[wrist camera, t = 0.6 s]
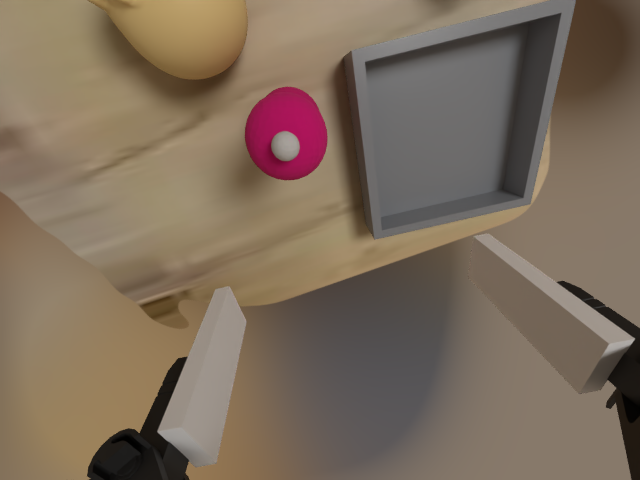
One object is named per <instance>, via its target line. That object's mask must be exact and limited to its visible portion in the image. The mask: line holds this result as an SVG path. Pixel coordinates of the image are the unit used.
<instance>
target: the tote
mask: <svg viewBox="0 0 640 480" xmlns="http://www.w3.org/2000/svg"><path fill="white" fill-rule="evenodd" d="M575 1H576V0H550V1H546V2H542V3H538V4H534V5H530V6H526V7H522V8H518V9H514V10H510V11H506V12H502V13H498V14H494V15H490V16H486V17H482V18H478V19H474V20H470V21H467V22H463V23H459V24H455V25H451V26H447V27H443V28H439V29H435V30H431V31H427V32H423V33H419V34H415V35H411V36H407V37H403V38H399V39H395V40H391V41H387V42H383V43H379V44H375V45H371V46H367V47H363V48H359V49H355V50H352V51H350V52H349V53H348V54H347V55H345V56H344V57H343V58H344V65H345V73H346V80H347V87H348V95H349V102H350V110H351V117H352V124H353V132H354V139H355V146H356V154H357V161H358V169H359V176H360V183H361V191H362V198H363V205H364V213H365V220H366V225H367V227H368V229H369V231H370V232H371V234H372V236H373V238H374V240H375V239H379V238H384V237H388V236H392V235H397V234H401V233H406V232H410V231H414V230H419V229H423V228H427V227H432V226H436V225H441V224H445V223H449V222H454V221H458V220H463V219H467V218H471V217H476V216H480V215H485V214H489V213H493V212H498V211H502V210H507V209H511V208H515V207H520V206H524V205H529V204H531V199H532V195H533V190H534V186H535V181H536V177H537V172H538V168H539V163H540V159H541V154H542V150H543V145H544V141H545V136H546V132H547V128H548V123H549V119H550V114H551V110H552V105H553V101H554V96H555V92H556V87H557V83H558V78H559V74H560V69H561V65H562V60H563V56H564V51H565V46H566V42H567V38H568V33H569V29H570V24H571V20H572V15H573V11H574V7H575Z"/></svg>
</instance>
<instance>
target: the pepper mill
mask: <svg viewBox="0 0 640 480" xmlns="http://www.w3.org/2000/svg"><path fill="white" fill-rule="evenodd" d="M245 141H246V146H247V149H248V152H249V154H250V156H251V158H252V160H253V161H254V163H255V164H256V165H257V166H258V167H259V168H260V169H261V170H262V171H263V172H264V173H266V174H268V175H269V176H271V177H274V178H276V179H281V180H295V179H299V178H302V177H305V176H307V175H308V174H310V173H311V172H312V171H314V170H315V169H316V168H317V166H318V165H319V164H320V162H321V161H322V159H323V157H324V154H325V151H326V147H327V129H326V126H325V122H324V120H323V118H322V116H321V114H320V112H319V109H318V107H317V105H316V103H315V102H314V100H313V99H312V98H311V97H310V96H309V95H308V94H307V93H305V92H304V91H302V90H300V89H298V88H294V87H282V88H278V89H276V90H274V91H272V92H271V93H269V94H268V95H267V96H266V97H265V98H264V99H262V100H260V101H259V102H258V103H257V104H256V105H255V106H254V108H253V109H252V111H251V113H250V115H249V117H248V119H247V123H246V127H245Z"/></svg>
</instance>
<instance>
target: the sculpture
mask: <svg viewBox="0 0 640 480" xmlns="http://www.w3.org/2000/svg"><path fill="white" fill-rule="evenodd" d="M88 1H89V2H91V3H93V4H95V5H96V6H98V7H100V8H101V9H103V10H105V11H106V13H107V14H108V16H109V17H110V18H111V20H112V21H113V22H114V24H115V25H116V26H117V27H118V29H119V30H120V31H121V32H122V34H123V35H124V36H125V37H126V39H127V40H128V41H129V42H130V43H131V45H132V46H133V47H134V48H135V49H136V50H137V51H138V52H139V53H140V54H141V55H142V56H143V57H144V58H145V59H147V60H148V61H149V62H150V63H152V64H153V65H154V66H156V67H157V68H159V69H161V70H162V71H164V72H166V73H168V74H170V75H173V76H175V77H179V78H183V79H190V80H198V79H206V78H210V77H213V76H215V75H217V74H219V73H221V72H223V71H224V70H226V69H227V68H228V67H230V66H231V65H232V64H233V63H234V61H235V60H236V59H237V58H238V56H239V54H240V53H241V51H242V49H243V46H244V43H245V40H246V35H247V26H248V19H247V9H246V3H245V0H88Z"/></svg>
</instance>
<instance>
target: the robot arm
mask: <svg viewBox="0 0 640 480" xmlns="http://www.w3.org/2000/svg"><path fill="white" fill-rule="evenodd" d="M468 278H469V279H470V280H471V281H472V282H473V283H474V284H475V285H476V286H477V287H478V288H479V289H480V290H481V291H482V293H483V294H484V295H485V296H486V297H487V298H488V299H489V300H490V301H491V302H492V303H493V304H494V305H495V306H496V307H497V308H498V309H499V310H500V311H501V313H502V314H503V315H504V316H505V317H506V318H507V319H508V320H509V321H510V322H511V323H512V324H513V325H514V326H515V327H516V328H517V329H518V330H519V331H520V333H521V334H522V335H523V336H524V337H525V338H526V339H527V340H528V341H529V342H530V343H531V344H532V345H533V346H534V347H535V348H536V349H537V350H538V351H539V352H540V354H542V356H543V357H544V358H545V359H546V360H547V361H548V362H549V363H550V364H551V365H552V366H553V367H554V368H555V369H556V370H557V371H558V373H559V374H560V375H562V377H563V378H564V379H565V380H566V381H567V382H568V383H569V384H570V385H571V386H572V387H573V388H574V389H575V390H576V391H577V392H578V394H582V393H588V392H593V391H598V390H601V389H602V387H603V386H604V384H605V383H606V381H607V380H609V381H610V382H611V383H612V384H613V385H614V386H615V387H616V390H615V391H614V392H613V394H612V395H611V397H610V398H609V399H608V401H607V404H606V407H607V408H609V409H611V408H612V406H613V405H614V404H615V402H616V405H617V410H618V415H619V420H620V424H621V430H622V435H623V440H624V445H625V449H626V454H627V459H628V464H629V469H630V474H631V479H632V480H640V328H638V327H637V326H636V325H634V324H632V323H631V322H630V321H628V320H627V319H625V318H624V317H622V316H621V315H619V314H617V313H616V312H615V311H613V310H612V309H610V308H609V307H606V306H605V304H603V303H602V302H600V301H599V300H597V299H594V297H593V296H591V295H590V294H588V293H587V292H585V291H584V290H582V289H581V288H579V287H577V286H574V285H572V284H570V283H567V282H565V281H560V282H555V281H554V280H552V279H551V278H550V277H548V276H546V275H545V274H544V273H542V272H541V271H540V270H538V269H537V268H536V267H534V266H533V265H531V264H530V263H529V262H527V261H526V260H524V259H523V258H522V257H520V256H519V255H517V254H516V253H515V252H513V251H512V250H510V249H509V248H508V247H506V246H505V245H503V244H502V243H501V242H499V241H498V240H496V239H495V238H494V237H492V236H491V235H490V234H488V233H487V234H483V235H478V236H474V237H473V244H472V250H471V258H470V265H469V273H468ZM245 327H246V320H245V317H244V315H243V313H242V311H241V309H240V307H239V305H238V303H237V301H236V299H235V297H234V294H233V292H232V290H231V288H230V286H228V287H223V288H218V289H215V292H214V294H213V297H212V299H211V301H210V304H209V306H208V309H207V311H206V314H205V316H204V319H203V321H202V324H201V326H200V328H199V331H198V333H197V336H196V338H195V341H194V343H193V346H192V348H191V351H190V353H189V355H188V357H183V358H178V359H177V360H176V362H175V363H174V364H173V365H172V367H171V368H170V369H169V370H168V373H167V375H166V377H165V379H164V381H163V385H162V386H161V388H160V390H159V392H158V396H157V397H156V398H155V401H154V403H153V405H152V407H151V409H150V412H149V414H148V416H147V418H146V420H145V422H144V425H143V427H142V429H141V431H140V433H138V432H137V431H136V430H135V429H125V430H122V431H119V432H118V433H116V434H115V435H113V436H112V437H110V438H109V439H108V440H107V441H106V442H105V443H104V444H103V445H102V446H101V447H100V448H99V450H98V451H97V452H96V454H95V455H94V456H93V458H92V461H91V463H90V465H89V467H88V474H87V476H88V477H89V478H91V479H89V480H189V478H188V476H187V475H186V473H185V472H186V468H187V465H188V462H191V464H193V465H194V466H195V467H201V466H205V465H211V464H216V463H217V457H218V453H219V448H220V444H221V439H222V434H223V429H224V425H225V420H226V416H227V411H228V406H229V402H230V397H231V392H232V387H233V383H234V377H235V373H236V369H237V363H238V359H239V355H240V350H241V345H242V341H243V336H244V331H245Z"/></svg>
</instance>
